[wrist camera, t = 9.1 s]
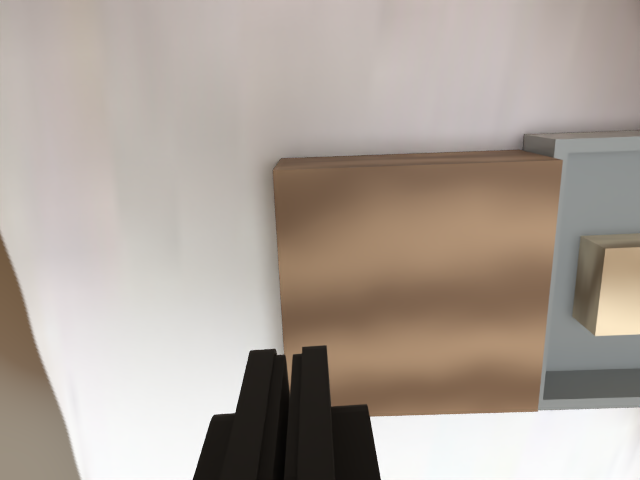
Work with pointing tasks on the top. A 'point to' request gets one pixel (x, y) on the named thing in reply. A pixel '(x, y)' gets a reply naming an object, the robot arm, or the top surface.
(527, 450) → the top surface
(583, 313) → the birch tile
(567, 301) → the bin
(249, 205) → the top surface
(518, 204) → the walnut riser
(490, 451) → the top surface
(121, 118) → the top surface
